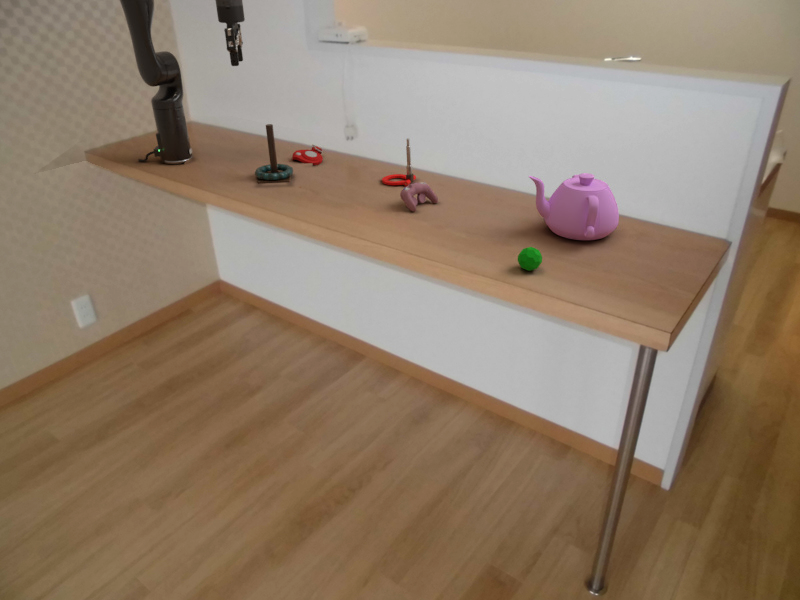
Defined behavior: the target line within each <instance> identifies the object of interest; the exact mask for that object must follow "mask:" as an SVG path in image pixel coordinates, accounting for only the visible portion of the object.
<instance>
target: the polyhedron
mask: <svg viewBox="0 0 800 600" xmlns="http://www.w3.org/2000/svg"><path fill="white" fill-rule="evenodd" d="M517 262H518V265H519V266H520V268H521V269H523V270H525V271H527V272H530V271H531V272H532V271H534V270H537V269H539V267H540V266H541V265H542V263H543V255H542V253H541V251H540V249H537V248H536V247H533V246H528V247H525V248H523V249H521V251H520V252H519V253H518V255H517Z"/></svg>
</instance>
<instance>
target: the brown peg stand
mask: <svg viewBox="0 0 800 600" xmlns="http://www.w3.org/2000/svg"><path fill="white" fill-rule="evenodd" d="M265 132H266V140H267V148H268V156H269V164H270V166H271V171H269V172H265V173H279V172H284V171H278V166H277V164H278V158H277V150H276V141H275V140H276V139H275V132H274V125H273V124H272V123H267V124H265ZM291 177H292V175H291V176H289V177H287V178H285V179H280V180H262V179H260V178H258V181H257V183H258V184H259V185H260V184H279V183H280V184H282V183H290V182H291Z"/></svg>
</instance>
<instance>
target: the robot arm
mask: <svg viewBox="0 0 800 600" xmlns="http://www.w3.org/2000/svg"><path fill="white" fill-rule="evenodd" d="M119 2H120V5H121V9H122V11H123V14H124V17H125V21H126V25H127V28H128V31H129V35H130V40H131V43H132V49H133V53H134V59H135V63H136V66H137V70H138V73H139V75H140V77H141V79H142V81H143V82H144V84H146V86H149V87H153V88H154V87H158V90H157V92H156V93H155V94H154V95H153V96H152V97H151V100H150V104H151V108H152V113H153V118H154V123H155V127H156V128H155V129H156V133H155V137H156V142H157V146H155V147H154V149H153V151H150V152H148V153H147V154H146V155H145V158H144V159H143V158H138V159H137V160H138V161H137V162H141V163H146V162H147V161H148V159H149V156H151V155H154V158H155V157H157V158H158V157H159V158H160V163H161V164H167V165H182V164H185V163H186V162H187V161H189V160H191V159H192V158H193V156H194V155H193V148H192V147H191V141H190V137H189V131H188V125H187V119H186V114H185V109H184V108H185V107H184V103H183V100H184V87H183V79H182V72H181V66H180V64H179V62H178V59H177V58H176V56H175V55H174V54H173V53H171V52H170V51H168V50H167V51H166V50H162V51H156V50H155V46H154V42H153V38H152V25H153V21H154V15H155V0H119ZM215 7H216V14H217V20H218V22H219V23H221V24H226V28H224V30H223V31H224V37H225V44H226V51H227V52H228V53H229V58H230V65H231V66H232V67H238V66H240V62H243V61H244V58H243V57H244V55H243V49H242V48H243V44H244V41H243V36H242V29H241V27H242V26H241V24H240V23H243V22H245V20H246V19H245V18H246V17H245V12H244V2H243V0H215Z"/></svg>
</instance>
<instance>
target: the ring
mask: <svg viewBox="0 0 800 600" xmlns="http://www.w3.org/2000/svg"><path fill="white" fill-rule="evenodd" d="M277 166H278V171H284V172H279V173H265V172H271V166H270V163H269V164H264V165H261V166H259V167H257V168H256V169H255V172H254V175H255V177H256V178H258V179H259V178H260V179H262V180H280V179H285V178H287V177H289V176H291V177H292V175H293V174H294V168H293V167H292V166H290V165H289V164H283V163H277Z"/></svg>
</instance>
